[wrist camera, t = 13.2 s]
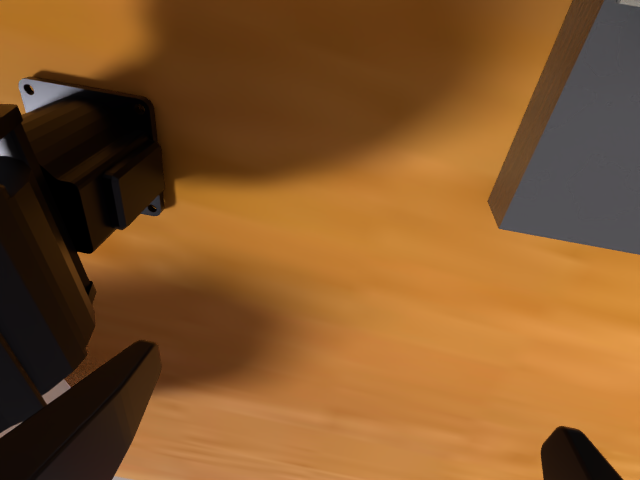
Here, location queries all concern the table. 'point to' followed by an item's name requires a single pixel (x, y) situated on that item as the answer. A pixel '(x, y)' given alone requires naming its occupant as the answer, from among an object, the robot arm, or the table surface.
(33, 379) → the robot arm
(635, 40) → the flange plate
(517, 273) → the table surface
